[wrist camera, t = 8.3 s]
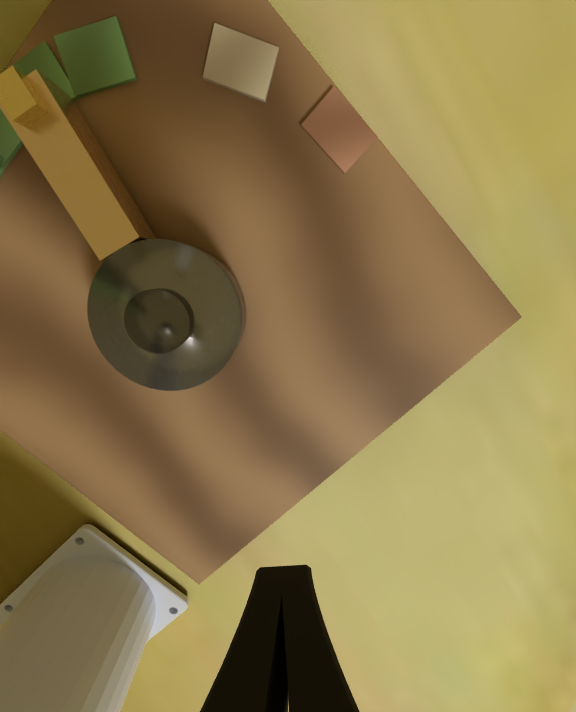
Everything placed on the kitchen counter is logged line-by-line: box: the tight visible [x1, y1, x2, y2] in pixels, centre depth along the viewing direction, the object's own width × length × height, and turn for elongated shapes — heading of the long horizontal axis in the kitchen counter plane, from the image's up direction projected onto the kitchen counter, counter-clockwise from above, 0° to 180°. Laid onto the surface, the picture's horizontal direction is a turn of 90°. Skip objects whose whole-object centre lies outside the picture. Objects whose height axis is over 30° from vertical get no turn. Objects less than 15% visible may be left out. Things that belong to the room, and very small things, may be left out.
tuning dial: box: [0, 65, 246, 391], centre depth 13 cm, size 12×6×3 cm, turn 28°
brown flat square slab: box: [0, 0, 521, 584], centre depth 16 cm, size 22×22×1 cm
